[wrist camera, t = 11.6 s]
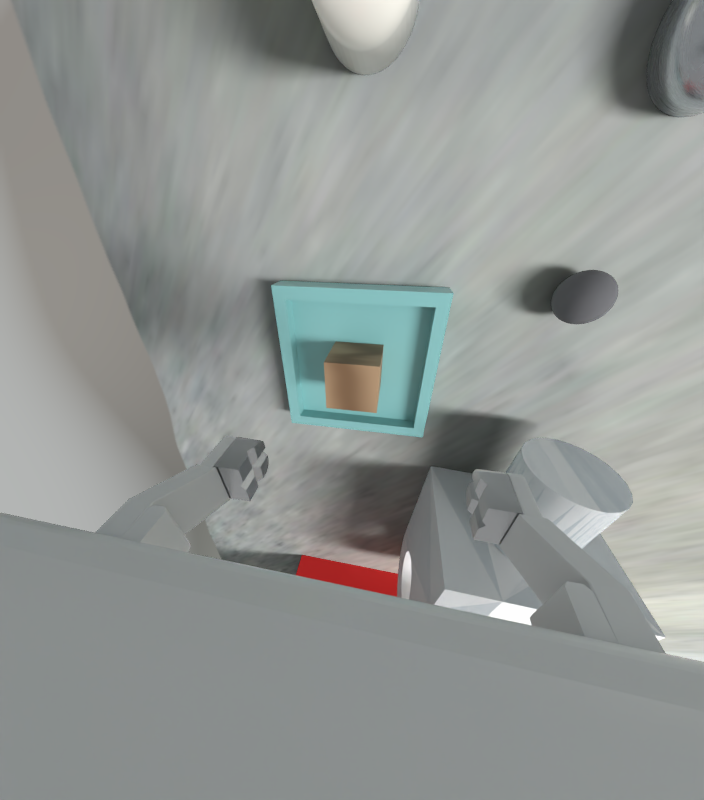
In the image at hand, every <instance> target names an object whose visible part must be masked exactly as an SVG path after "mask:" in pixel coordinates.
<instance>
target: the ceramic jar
mask: <svg viewBox="0 0 704 800" xmlns="http://www.w3.org/2000/svg"><path fill="white" fill-rule="evenodd" d="M419 1H420V0H312V3H313V5H314V7H315V10H316V12H317V15H318V17H319V20H320V22H321V24H322V27H323V29H324V32H325V34H326V37H327V39H328V41H329V44H330V46H331V48H332V50H333V52H334V54H335V55H336V57H337V58H338V60H339V61H340V62H341V63H342V64H343V65H344V66H345V67H346V68H347V69H349V70H350V71H352V72H354V73H356V74H360V75H372V74H375V73H378V72H380V71H382V70H384V69H386V68H387V67H388V66H389V65H391V64H392V63H393V62H394V61H395V60H396V58H397V57H398V56H399V55H400V53H401V52H402V50H403V49H404V47H405V45H406V43H407V41H408V39H409V37H410V35H411V32H412V30H413V27H414V24H415V21H416V17H417V13H418V8H419Z"/></svg>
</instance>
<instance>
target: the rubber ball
mask: <svg viewBox="0 0 704 800" xmlns="http://www.w3.org/2000/svg"><path fill="white" fill-rule="evenodd" d="M617 296H618V285H617V283H616V281H615V279H614V278H613V277H612V276H611V275H609V274H608V273H605V272H603V271H598V270H587V271H582V272H579V273H576V274H574V275H572V276H570V277H568V278H567V279H565V280H564V281H563V282H562V283H561V284H560V285H559V286H558V287H557V288H556V290H555V292H554V294H553V296H552V300H551V307H552V311H553V313H554V314H555V316H556V317H557V318H559V319H560V320H561V321H564V322H566V323H570V324H584V323H588V322H591V321H594V320H596V319H598V318H600V317H602V316H603V315H604V314H606V313H607V312H608V311H609V310H610V309H611V308H612V306H613V305H614V303H615V301H616V299H617Z"/></svg>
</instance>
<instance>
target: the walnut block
mask: <svg viewBox="0 0 704 800" xmlns="http://www.w3.org/2000/svg"><path fill="white" fill-rule="evenodd" d="M383 347H384V345H380V344H366V343H352V342H337V341H336V342H335V343H334V345H333V347H332V349H331V350H330V352H329V354H328V356H327V357H326V359H325V361H324V375H325V393H326V408H332V409H341V410H351V411H361V412H370V413H377V407H378V400H379V393H380V384H381V372H382V360H383Z"/></svg>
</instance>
